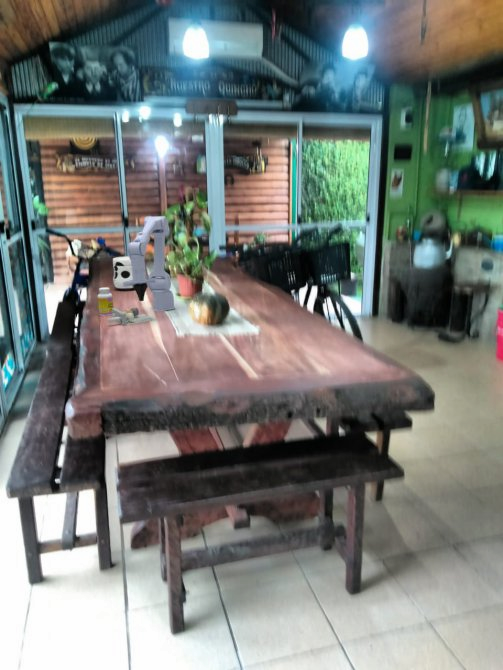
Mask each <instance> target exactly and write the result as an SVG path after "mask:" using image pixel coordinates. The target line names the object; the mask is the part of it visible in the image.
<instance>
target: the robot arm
mask: <svg viewBox="0 0 503 670" xmlns="http://www.w3.org/2000/svg"><path fill="white" fill-rule="evenodd" d="M168 234H169V221H168V219H167V217H166V216H165V215H163V216H159V215H158V216H145V217H144V219H143V229H142V231H138V233H137V235H136V236H135V238H134V239H133V241H131V242H129V243H128V244H127V249H126V250H127V251H126V252H127V254H128V256H129V258H130V260H131V266H132V277H133V280H130V281H125V282H123V286H124V287H127V286H132V285H133V288H134V289H133V290H134V291H135V293H136V294H137V298H138V301H139V302H144V300H145V295H146V291H147V289H148V290H149V291H150V292H151V293H152V301H153V307H151V308H150V309H152V310H153V311H156V312H160V311H161V312H162V311H164V312H166V311H170V310H175V309H176V308H175V299H174V293H173V291H172V290H171V288H172V281H171V275H170V274H169V273H168V272H166V271H165V263H166V262H165V256H166V255H165V251H166V250H165V245H166V243H165V242H166V236H167V235H168ZM150 236H153V239H154V241H153V242H154V243H153V244H154V245H153V246H154V247H153V249H154V251H153V264H154V265H153V271H152V272H151V273H149V275H148V277H147V273H146V263H145V262H146V261H145V255H146V254H147V247H148V244H149V242H150V240H151V237H150ZM136 283H137V284H136Z"/></svg>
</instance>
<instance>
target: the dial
mask: <svg viewBox="0 0 503 670" xmlns="http://www.w3.org/2000/svg"><path fill="white" fill-rule="evenodd" d="M124 312H125V313H131V308H129V309H128V308H127V309H125V310H124ZM126 321H127V320H126Z"/></svg>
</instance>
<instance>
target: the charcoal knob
mask: <svg viewBox="0 0 503 670" xmlns="http://www.w3.org/2000/svg"><path fill="white" fill-rule="evenodd" d="M130 310H131V313H133V315H134V316H138V315H140V314H139V313H140V312H139V309H138V307H133V308H130ZM122 312H123V313H125V311H122ZM125 314H126V313H125ZM113 317H116V313H113V315H112V318H113Z"/></svg>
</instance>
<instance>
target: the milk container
mask: <svg viewBox="0 0 503 670" xmlns="http://www.w3.org/2000/svg"><path fill="white" fill-rule="evenodd" d="M112 265H113V266H112V268H113V278H112V283H113V286H114V288H115V289H117V290H121V291H122V290H123V291H128V290H129V291H130V290H135V289H134V288H133V285H132V286H127V287H124V286H123V282H125V281H130V280H133V277H132V266H131V260H130V258H129V255H126V256H118V257H116V256H115V257H113V258H112ZM136 284H137V283H136Z"/></svg>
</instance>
